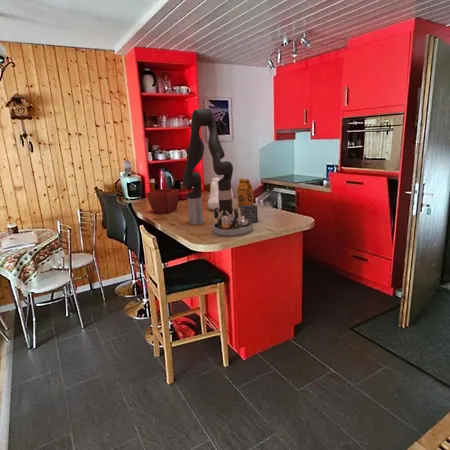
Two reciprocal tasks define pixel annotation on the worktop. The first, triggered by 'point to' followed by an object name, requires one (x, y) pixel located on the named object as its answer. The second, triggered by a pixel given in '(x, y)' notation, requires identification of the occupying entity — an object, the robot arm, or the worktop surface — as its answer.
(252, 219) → the small box
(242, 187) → the coffee package
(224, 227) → the planet gear
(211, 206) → the decorative rooster
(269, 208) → the worktop surface
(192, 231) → the worktop surface
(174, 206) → the plant pot
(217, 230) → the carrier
